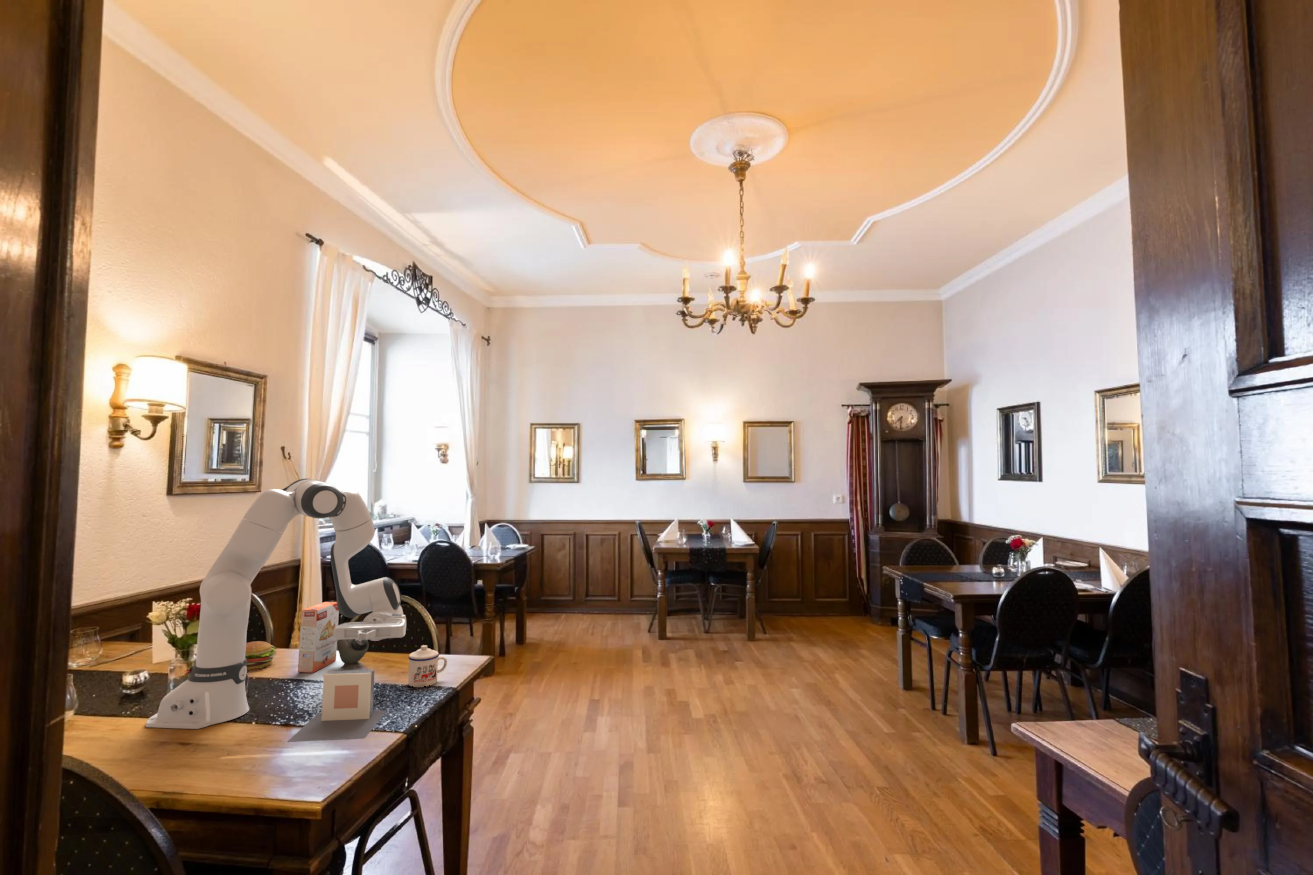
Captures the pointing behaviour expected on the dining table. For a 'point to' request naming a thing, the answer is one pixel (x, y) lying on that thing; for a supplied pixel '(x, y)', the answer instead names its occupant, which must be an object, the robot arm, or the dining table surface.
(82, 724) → the dining table surface
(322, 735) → the felt mat
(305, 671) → the cracker box
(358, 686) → the glazed tile
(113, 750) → the dining table surface
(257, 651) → the food
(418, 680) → the teacup with lid
